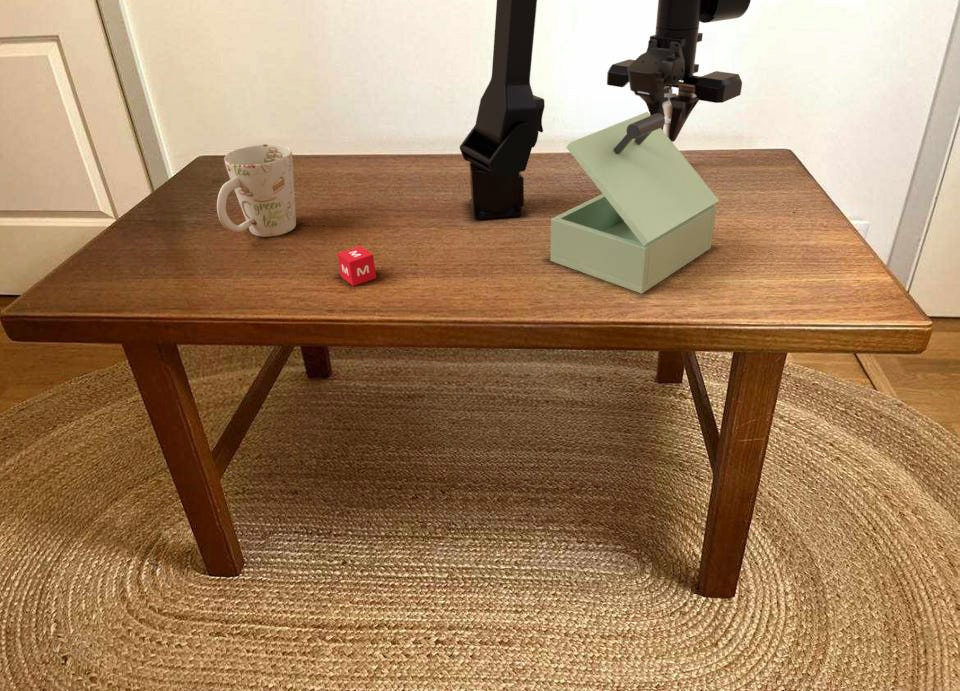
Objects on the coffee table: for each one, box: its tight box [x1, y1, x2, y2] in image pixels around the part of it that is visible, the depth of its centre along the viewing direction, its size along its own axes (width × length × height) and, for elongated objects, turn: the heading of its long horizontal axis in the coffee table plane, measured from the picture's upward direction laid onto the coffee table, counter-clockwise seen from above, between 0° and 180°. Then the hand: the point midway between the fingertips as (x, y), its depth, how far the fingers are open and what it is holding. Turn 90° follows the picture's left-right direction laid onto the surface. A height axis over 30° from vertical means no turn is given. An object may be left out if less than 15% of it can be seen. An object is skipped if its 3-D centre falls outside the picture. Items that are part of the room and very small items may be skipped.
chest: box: [549, 193, 717, 295], centre depth 84 cm, size 13×15×5 cm
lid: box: [565, 111, 720, 246], centre depth 78 cm, size 13×15×5 cm
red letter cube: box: [337, 245, 377, 287], centre depth 83 cm, size 3×3×3 cm
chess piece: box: [662, 88, 678, 138], centre depth 106 cm, size 5×5×10 cm
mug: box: [216, 143, 297, 238], centre depth 92 cm, size 8×13×10 cm, turn 155°
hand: (665, 140), depth 108 cm, fingers closed on chess piece
